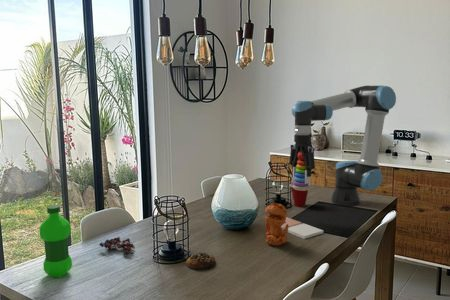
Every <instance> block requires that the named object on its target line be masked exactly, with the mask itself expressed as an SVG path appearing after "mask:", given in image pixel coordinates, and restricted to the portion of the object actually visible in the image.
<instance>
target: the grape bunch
mask: <svg viewBox="0 0 450 300" xmlns="http://www.w3.org/2000/svg"><path fill="white" fill-rule="evenodd" d="M98 246H100V247H101V248H105V249H107V250H108V251H110V250H113V251H114V250H119V251H121V250H122V251H123V253H122V254H123V256H128V255H129V253H133V254H134V253H135V251H133V249H136V245H135V244H134V243H132V242H131V239H130V238H125V239H123V240H121V237H120V236H117V237H115V238H110V239H106V240H105V241H104V242H100V243H99V244H98Z"/></svg>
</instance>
